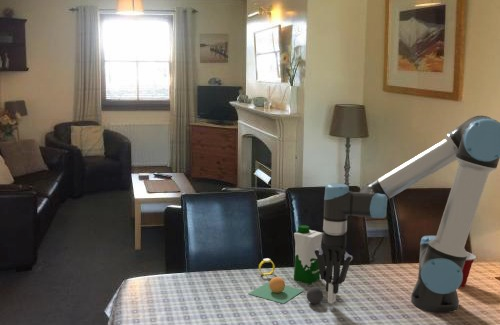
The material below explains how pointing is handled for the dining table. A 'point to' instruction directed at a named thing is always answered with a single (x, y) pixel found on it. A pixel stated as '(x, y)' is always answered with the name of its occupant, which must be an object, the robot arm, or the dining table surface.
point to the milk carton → (306, 255)
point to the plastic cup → (467, 268)
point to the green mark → (277, 297)
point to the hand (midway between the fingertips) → (331, 301)
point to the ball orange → (277, 284)
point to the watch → (266, 262)
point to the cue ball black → (314, 295)
